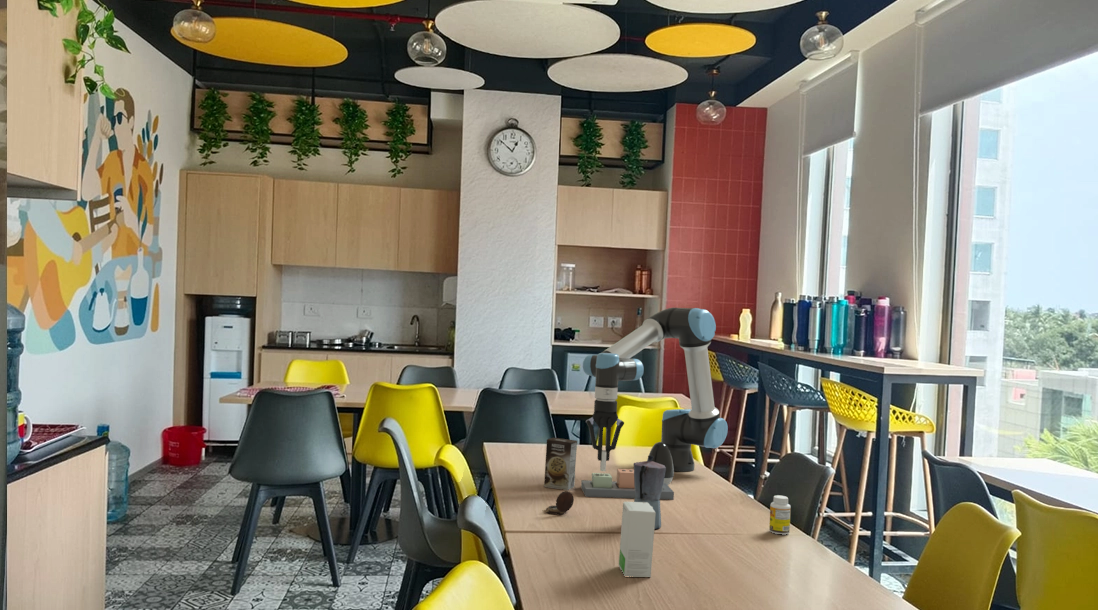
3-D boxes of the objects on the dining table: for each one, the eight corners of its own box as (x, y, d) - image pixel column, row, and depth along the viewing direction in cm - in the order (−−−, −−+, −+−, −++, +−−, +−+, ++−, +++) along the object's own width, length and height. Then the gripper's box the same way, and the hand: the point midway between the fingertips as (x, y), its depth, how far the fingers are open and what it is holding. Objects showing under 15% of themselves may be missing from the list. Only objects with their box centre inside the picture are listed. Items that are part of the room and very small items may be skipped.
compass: (557, 508, 243) (558, 484, 243) (574, 515, 237) (575, 490, 237) (536, 511, 238) (537, 487, 238) (552, 518, 232) (553, 493, 232)
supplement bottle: (770, 529, 232) (772, 493, 232) (790, 531, 230) (792, 496, 230) (768, 533, 227) (769, 497, 227) (788, 536, 225) (790, 500, 225)
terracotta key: (634, 484, 271) (634, 468, 271) (637, 488, 265) (638, 472, 265) (616, 483, 270) (617, 468, 270) (619, 487, 264) (620, 471, 265)
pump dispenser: (672, 482, 288) (674, 440, 288) (674, 489, 278) (676, 445, 278) (643, 480, 289) (646, 438, 289) (644, 487, 279) (646, 443, 279)
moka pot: (667, 522, 233) (670, 453, 234) (657, 535, 219) (660, 462, 219) (635, 517, 237) (638, 450, 237) (622, 530, 222) (626, 458, 222)
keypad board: (665, 490, 275) (665, 483, 275) (673, 499, 262) (673, 492, 262) (581, 487, 273) (581, 480, 273) (585, 496, 260) (585, 488, 260)
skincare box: (618, 566, 191) (621, 500, 191) (645, 566, 192) (648, 501, 192) (624, 578, 183) (627, 509, 183) (653, 578, 183) (656, 510, 183)
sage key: (608, 488, 270) (609, 472, 270) (611, 492, 264) (612, 476, 264) (591, 487, 270) (592, 472, 270) (593, 491, 264) (594, 476, 264)
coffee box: (543, 487, 271) (545, 439, 271) (550, 483, 277) (552, 436, 277) (568, 490, 268) (571, 442, 268) (575, 487, 274) (577, 439, 274)
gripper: (587, 400, 263) (584, 472, 263) (627, 401, 264) (624, 473, 264) (585, 397, 271) (582, 467, 271) (623, 398, 271) (620, 468, 272)
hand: (602, 470), depth 267 cm, fingers closed
